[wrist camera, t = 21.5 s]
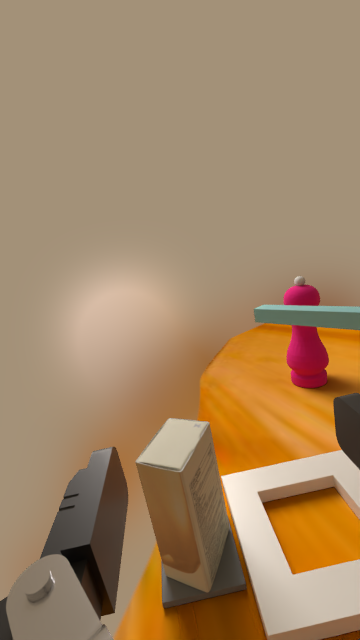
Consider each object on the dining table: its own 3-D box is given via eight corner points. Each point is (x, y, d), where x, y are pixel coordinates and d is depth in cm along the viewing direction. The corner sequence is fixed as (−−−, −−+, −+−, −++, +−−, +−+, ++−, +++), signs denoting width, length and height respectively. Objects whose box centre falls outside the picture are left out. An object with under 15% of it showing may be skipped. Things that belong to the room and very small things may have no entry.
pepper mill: (303, 393, 52) (291, 281, 47) (281, 378, 59) (270, 279, 54) (339, 383, 53) (331, 272, 49) (314, 369, 60) (305, 271, 56)
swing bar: (479, 328, 24) (480, 307, 24) (472, 340, 23) (473, 318, 22) (267, 316, 40) (265, 303, 40) (253, 323, 39) (251, 309, 38)
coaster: (227, 516, 31) (226, 511, 31) (246, 589, 24) (245, 583, 24) (162, 531, 31) (161, 526, 31) (163, 608, 24) (162, 603, 24)
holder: (411, 445, 36) (409, 312, 32) (587, 574, 21) (620, 358, 18) (223, 486, 35) (199, 355, 31) (270, 651, 20) (236, 441, 17)
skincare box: (191, 517, 31) (169, 414, 28) (231, 528, 29) (211, 418, 26) (162, 580, 26) (131, 460, 23) (209, 599, 24) (181, 470, 21)
